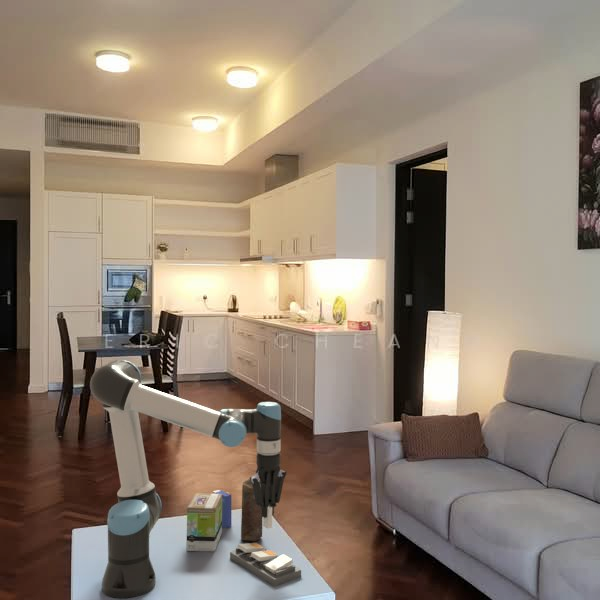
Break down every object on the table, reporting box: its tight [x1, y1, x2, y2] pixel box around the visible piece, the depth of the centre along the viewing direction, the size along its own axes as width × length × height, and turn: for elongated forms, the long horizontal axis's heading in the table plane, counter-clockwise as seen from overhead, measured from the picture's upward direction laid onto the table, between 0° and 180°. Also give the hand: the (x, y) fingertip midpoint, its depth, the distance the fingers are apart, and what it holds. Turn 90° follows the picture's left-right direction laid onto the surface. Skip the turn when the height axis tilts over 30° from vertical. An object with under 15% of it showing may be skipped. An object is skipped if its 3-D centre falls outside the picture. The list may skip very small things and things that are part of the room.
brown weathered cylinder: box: [240, 478, 263, 542], centre depth 218 cm, size 8×7×20 cm
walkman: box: [212, 489, 233, 529], centre depth 232 cm, size 8×3×12 cm, turn 46°
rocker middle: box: [251, 549, 279, 561], centre depth 197 cm, size 7×5×1 cm, turn 129°
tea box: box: [185, 492, 223, 552], centre depth 216 cm, size 15×10×15 cm
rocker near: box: [265, 553, 294, 574], centre depth 191 cm, size 7×5×1 cm, turn 129°
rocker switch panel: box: [229, 547, 302, 587], centre depth 197 cm, size 10×24×3 cm, turn 39°
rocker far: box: [237, 542, 265, 553], centre depth 203 cm, size 7×5×1 cm, turn 129°
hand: (267, 526), depth 199 cm, fingers closed
